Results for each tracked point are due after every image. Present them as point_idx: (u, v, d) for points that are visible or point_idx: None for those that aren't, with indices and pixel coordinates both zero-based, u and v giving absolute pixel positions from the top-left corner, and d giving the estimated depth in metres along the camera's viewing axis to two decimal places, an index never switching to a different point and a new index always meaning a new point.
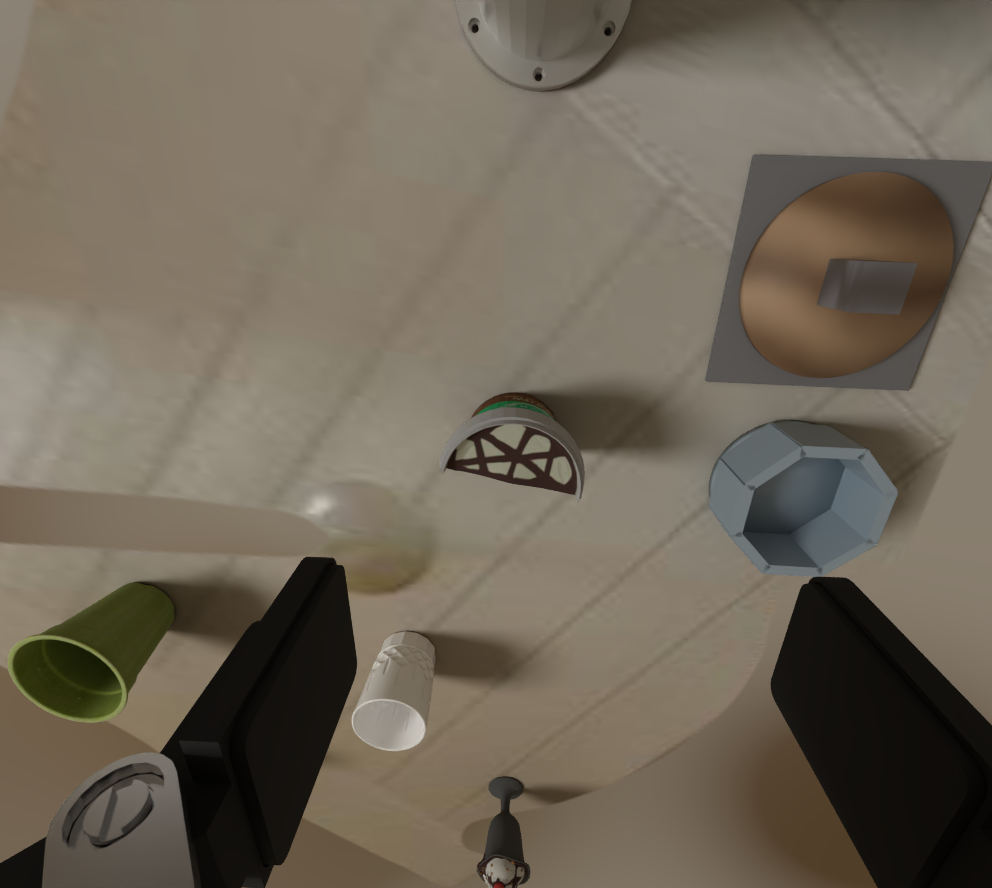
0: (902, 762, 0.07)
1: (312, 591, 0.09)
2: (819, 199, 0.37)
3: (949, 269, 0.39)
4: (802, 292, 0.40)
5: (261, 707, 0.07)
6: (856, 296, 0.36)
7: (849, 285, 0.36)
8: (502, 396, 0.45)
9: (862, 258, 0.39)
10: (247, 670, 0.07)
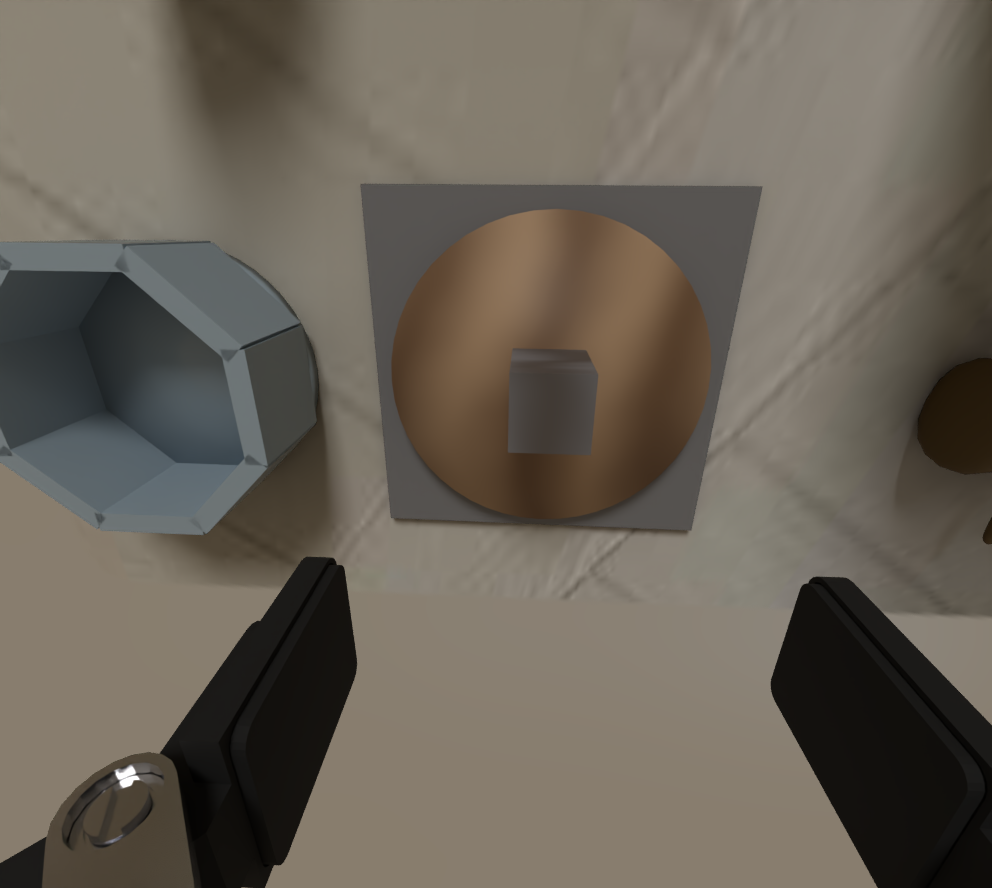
0: (902, 762, 0.07)
1: (312, 591, 0.09)
2: (680, 308, 0.23)
3: (564, 516, 0.27)
4: (532, 319, 0.23)
5: (261, 707, 0.07)
6: (538, 374, 0.20)
7: (553, 367, 0.21)
8: None
9: None
10: (248, 670, 0.07)
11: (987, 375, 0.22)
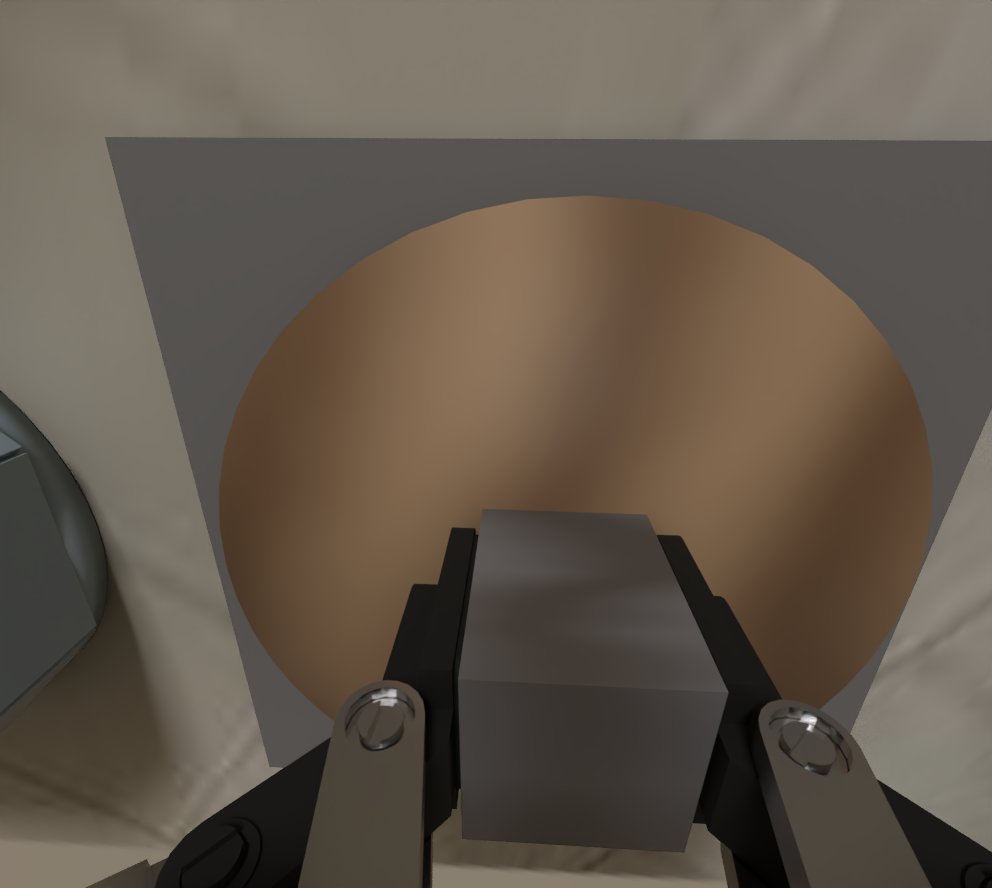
0: None
1: (470, 555, 0.10)
2: (875, 432, 0.10)
3: None
4: (527, 451, 0.10)
5: None
6: (545, 686, 0.06)
7: (585, 627, 0.07)
8: None
9: None
10: (447, 616, 0.08)
11: None
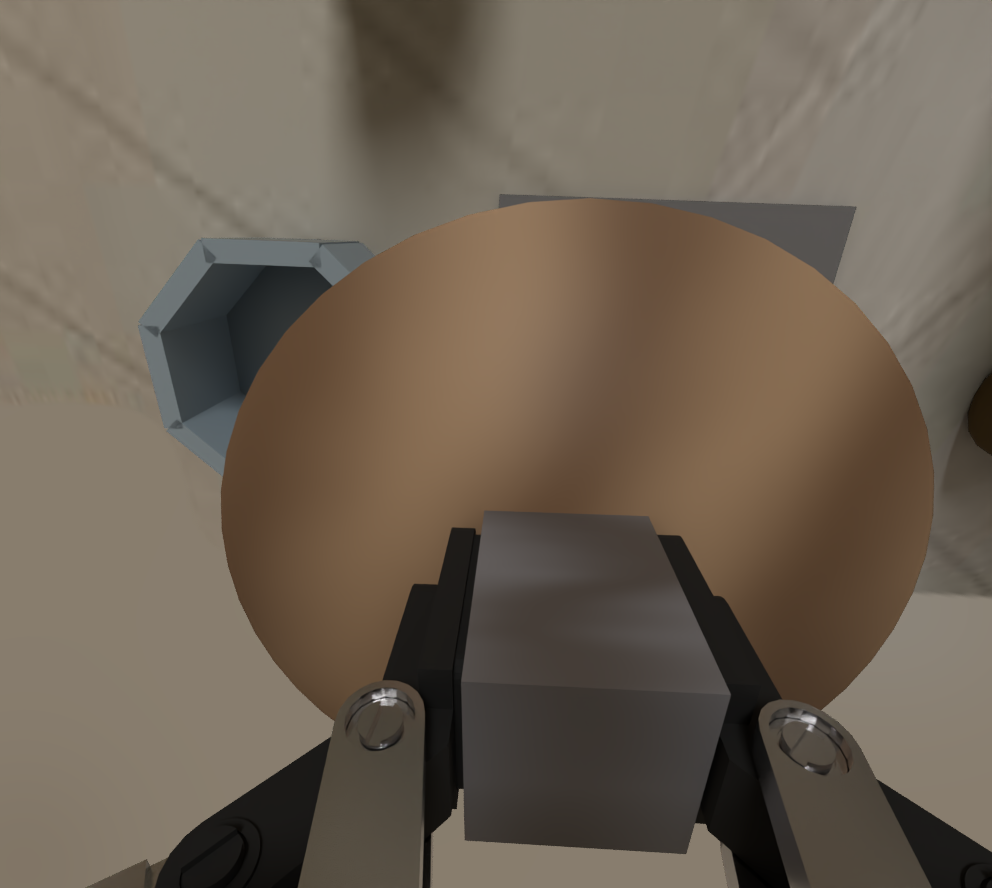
0: None
1: (470, 555, 0.10)
2: (876, 434, 0.10)
3: None
4: (528, 453, 0.10)
5: None
6: (549, 688, 0.07)
7: (587, 629, 0.07)
8: None
9: None
10: (447, 616, 0.08)
11: None
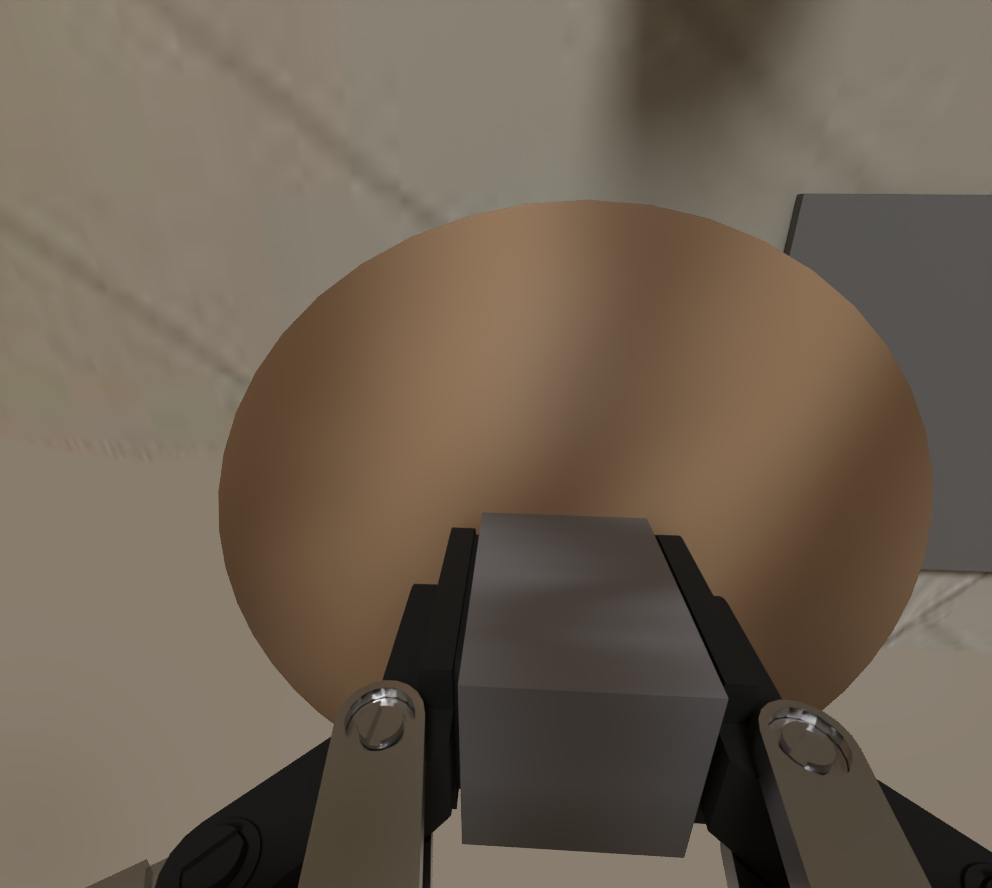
0: None
1: (470, 555, 0.10)
2: (875, 436, 0.10)
3: None
4: (526, 455, 0.10)
5: None
6: (545, 691, 0.06)
7: (585, 632, 0.07)
8: None
9: None
10: (448, 616, 0.08)
11: None
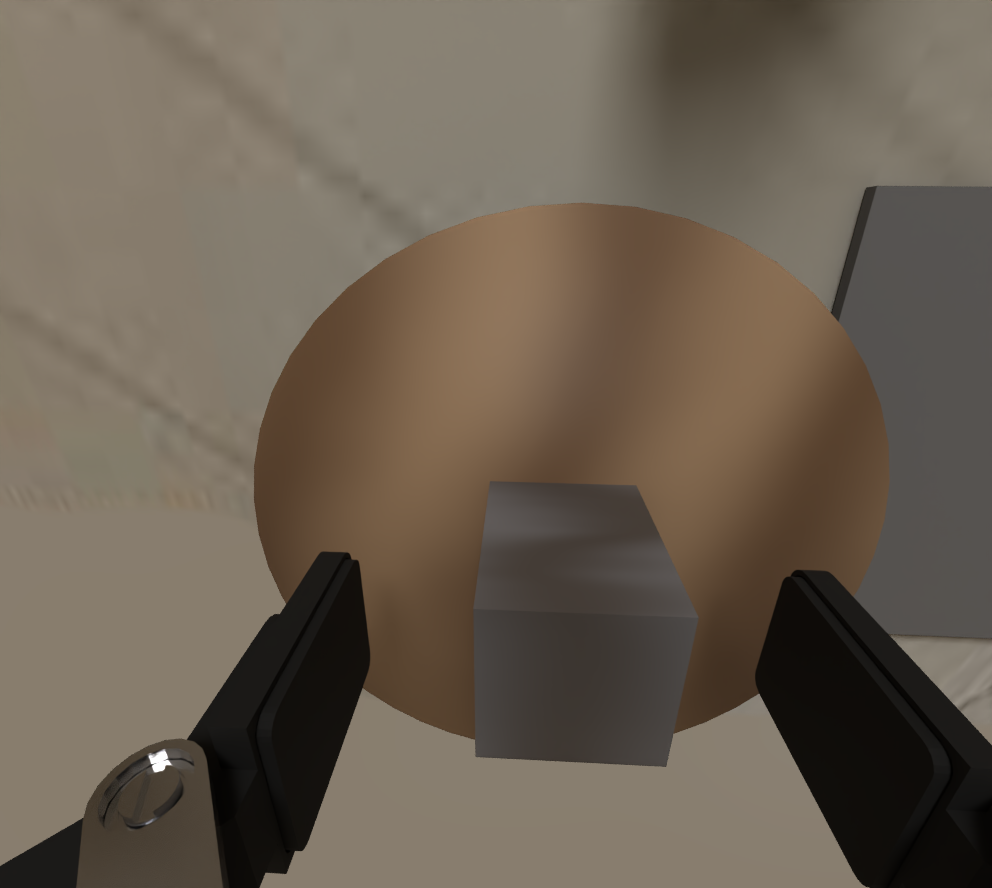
0: (875, 748, 0.07)
1: (329, 584, 0.09)
2: (836, 409, 0.11)
3: None
4: (529, 428, 0.11)
5: (285, 695, 0.07)
6: (546, 614, 0.08)
7: (580, 571, 0.09)
8: None
9: None
10: (270, 659, 0.07)
11: None
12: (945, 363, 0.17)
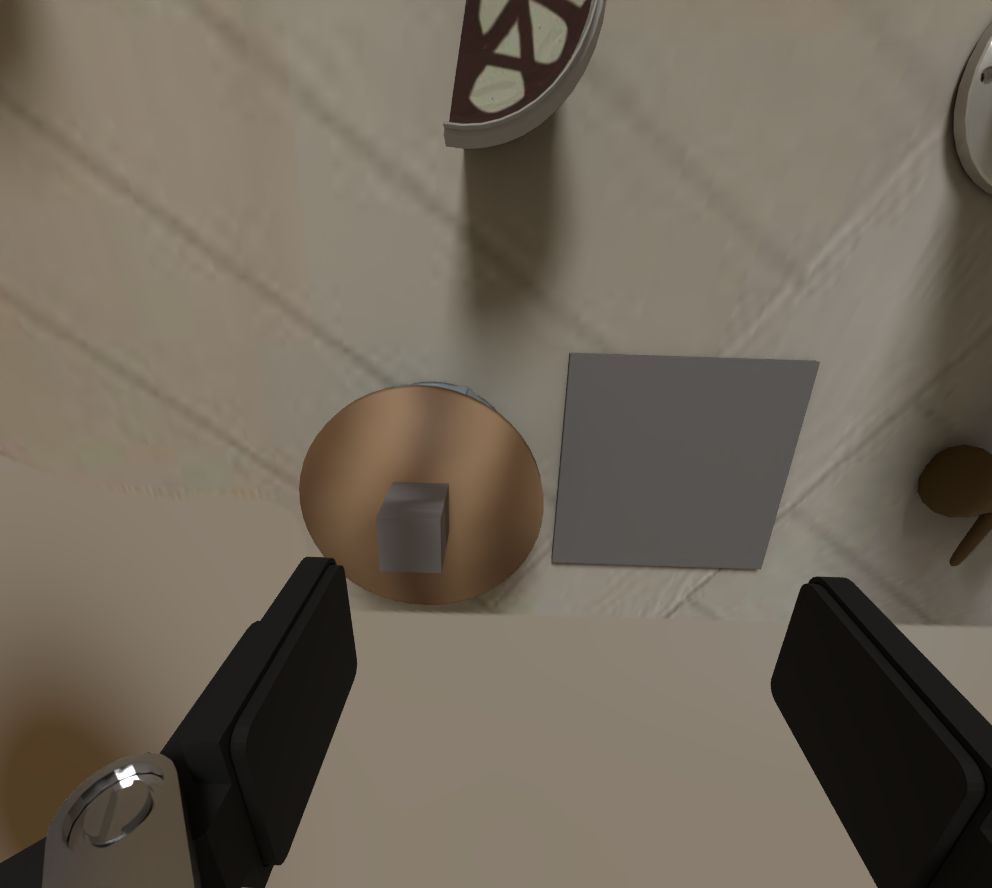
0: (902, 762, 0.07)
1: (312, 591, 0.09)
2: (515, 456, 0.30)
3: (443, 602, 0.35)
4: (406, 462, 0.30)
5: (261, 707, 0.07)
6: (397, 519, 0.27)
7: (412, 509, 0.28)
8: None
9: (450, 517, 0.32)
10: (247, 670, 0.07)
11: (969, 456, 0.35)
12: (617, 428, 0.37)
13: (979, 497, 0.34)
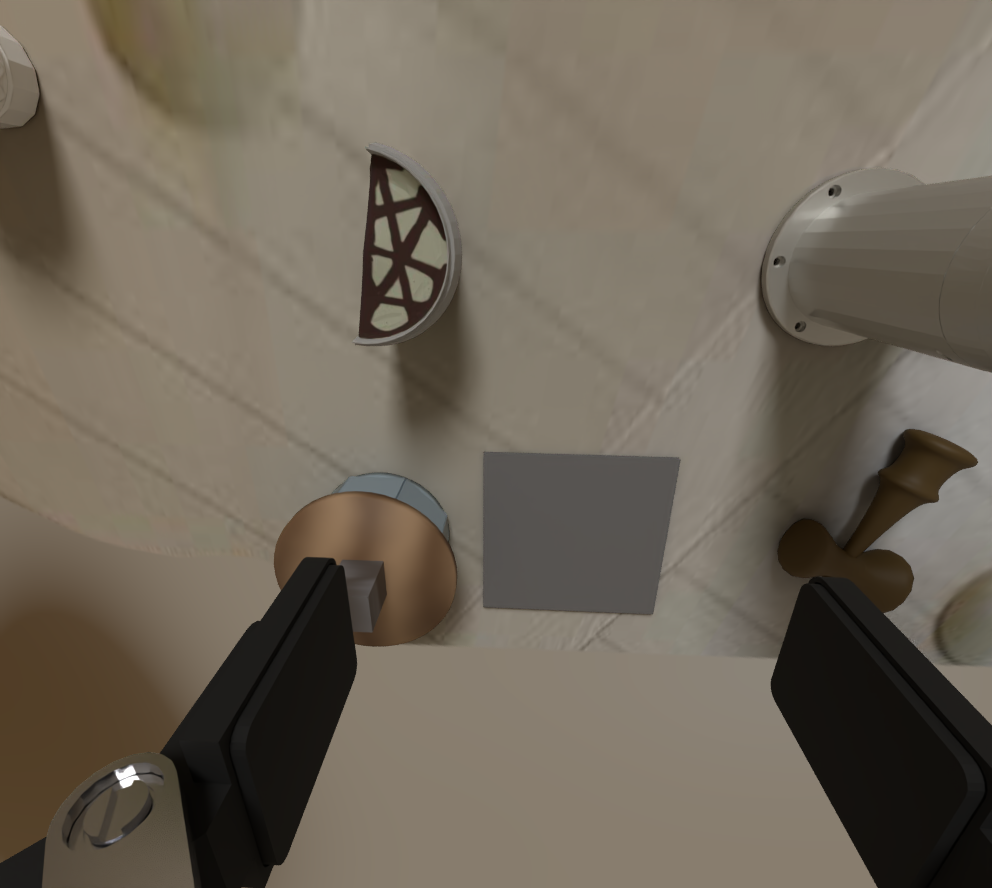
0: (902, 762, 0.07)
1: (312, 591, 0.09)
2: (430, 542, 0.40)
3: (387, 645, 0.45)
4: (350, 546, 0.41)
5: (261, 707, 0.07)
6: None
7: (350, 586, 0.38)
8: None
9: (387, 584, 0.42)
10: (247, 670, 0.07)
11: (811, 529, 0.44)
12: (525, 507, 0.47)
13: (810, 563, 0.43)
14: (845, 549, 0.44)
